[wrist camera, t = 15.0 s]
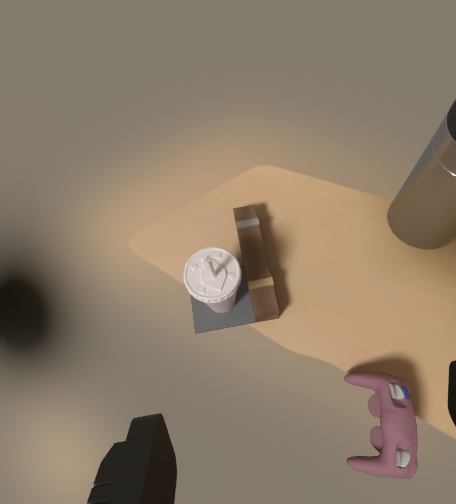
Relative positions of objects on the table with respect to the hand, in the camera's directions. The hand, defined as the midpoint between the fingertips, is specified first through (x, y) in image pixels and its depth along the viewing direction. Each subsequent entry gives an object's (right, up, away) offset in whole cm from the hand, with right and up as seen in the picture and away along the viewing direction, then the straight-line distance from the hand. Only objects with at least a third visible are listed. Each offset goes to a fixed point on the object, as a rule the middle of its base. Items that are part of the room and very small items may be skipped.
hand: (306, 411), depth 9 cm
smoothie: (-3, -2, +36) cm, 36 cm away
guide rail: (+2, +3, +38) cm, 38 cm away
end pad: (-3, -2, +36) cm, 36 cm away
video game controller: (+14, -15, +28) cm, 35 cm away
